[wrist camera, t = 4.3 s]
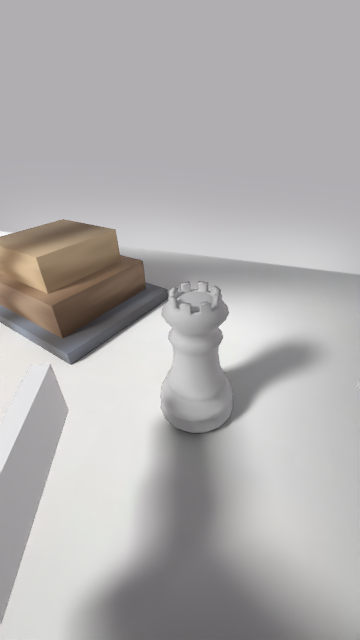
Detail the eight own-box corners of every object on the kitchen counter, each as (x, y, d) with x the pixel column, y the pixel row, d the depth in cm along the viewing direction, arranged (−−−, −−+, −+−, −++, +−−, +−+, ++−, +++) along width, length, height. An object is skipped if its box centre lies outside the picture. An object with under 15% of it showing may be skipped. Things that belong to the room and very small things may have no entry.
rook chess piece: (186, 371, 20) (182, 267, 16) (244, 397, 18) (258, 284, 14) (146, 415, 18) (127, 301, 13) (210, 453, 15) (213, 331, 11)
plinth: (-25, 307, 30) (-59, 240, 26) (71, 266, 38) (57, 211, 34) (70, 364, 22) (42, 280, 18) (168, 297, 30) (163, 229, 26)
